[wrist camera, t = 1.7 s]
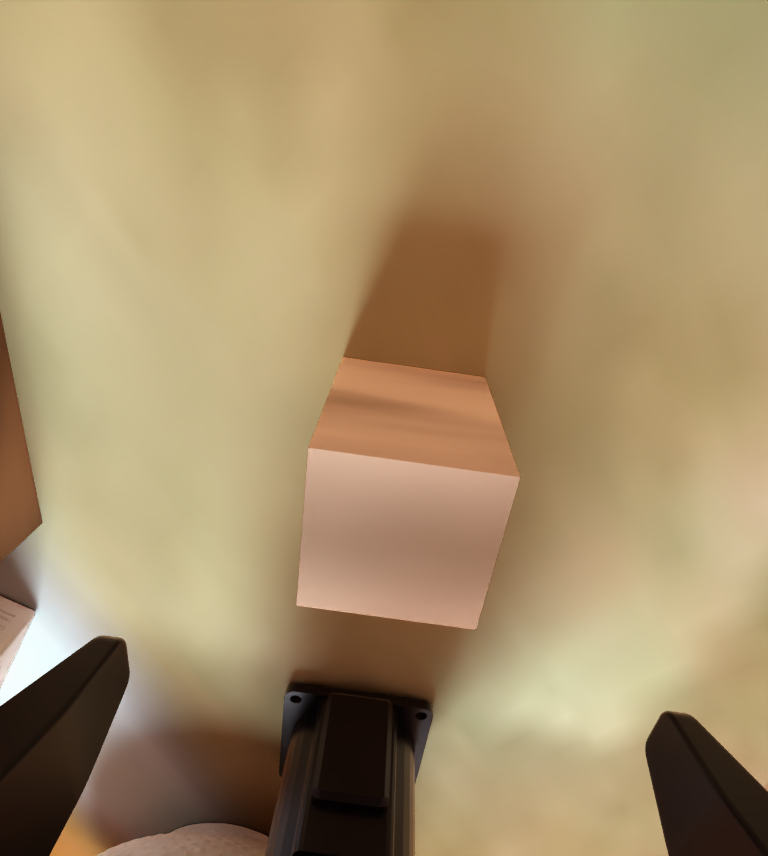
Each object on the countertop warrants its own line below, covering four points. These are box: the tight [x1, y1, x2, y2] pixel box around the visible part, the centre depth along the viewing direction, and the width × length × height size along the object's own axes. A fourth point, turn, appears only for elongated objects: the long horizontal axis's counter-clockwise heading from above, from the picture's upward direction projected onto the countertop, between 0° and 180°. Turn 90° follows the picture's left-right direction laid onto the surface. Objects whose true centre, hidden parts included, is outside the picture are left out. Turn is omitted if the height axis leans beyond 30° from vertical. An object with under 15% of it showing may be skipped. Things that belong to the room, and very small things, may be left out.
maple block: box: [297, 357, 520, 630], centre depth 15 cm, size 4×4×6 cm
